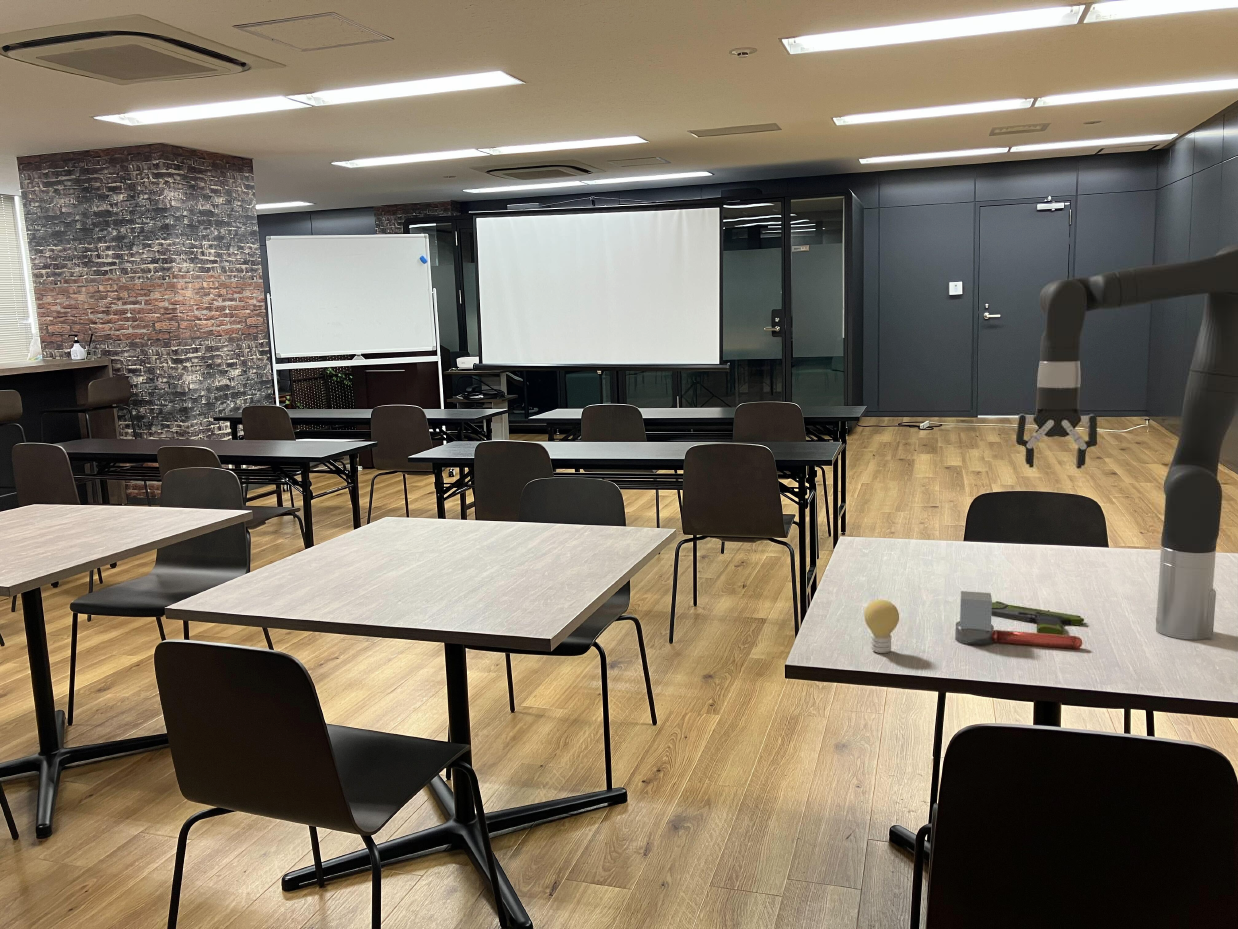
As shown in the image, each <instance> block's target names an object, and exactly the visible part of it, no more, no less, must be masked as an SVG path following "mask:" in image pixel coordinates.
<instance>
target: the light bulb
mask: <svg viewBox="0 0 1238 929" xmlns="http://www.w3.org/2000/svg"><path fill="white" fill-rule="evenodd" d="M863 617H864V621H865V624H866V626H867V627H868V629H869V630H870V631H871V635H870V638H871V639H870V643H871V645H870V649H871V650H872V651H873V652H874V653H878V654H886V653H889V652H890V651H891V650H892V635H891V633H892V632H893V631H895V629H896V627H897V626H898V624H899V622H900V613H899V610H898V608H897V607H896V605H895V604H894V603H893V602H891V601H889V600H887V599H877V600H873V601H871V602H869V603H868V604H867V605H866V607H865V610H864V614H863Z"/></svg>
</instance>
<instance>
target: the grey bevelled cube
mask: <svg viewBox="0 0 1238 929" xmlns="http://www.w3.org/2000/svg"><path fill="white" fill-rule="evenodd" d="M992 602H993V600H992V594H991V592H981V591H968V590H967V591H966V590H964V591H963V590H960V610H959V621H960V629H969V630H982V631H991V624H992V616H991V615H992Z"/></svg>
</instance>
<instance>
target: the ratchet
mask: <svg viewBox="0 0 1238 929" xmlns="http://www.w3.org/2000/svg"><path fill="white" fill-rule="evenodd" d="M954 630H955V636H954V640H955V641H956V642H957V643H960V644H962V645H966V646H969V647H988V646H990V645H993V644H994V643H999V644H1000V643H1001V644H1012V645H1024V646H1037V647H1049V648H1060V649H1061V648H1063V649H1074V650H1077V649H1080V648H1081V647H1082V646H1083V644H1084V642H1083V639H1082V638H1081V637H1080V636H1077V635H1069V634H1068V635H1067V634H1063V635H1056V634H1043V633H1037V632H1029V631H1013V630H1005V629H1004V630H1002V629H995V627H994V625H993V624H992V623H991V631H982V630H969V629H960V620H959V621H957V622H955V629H954Z"/></svg>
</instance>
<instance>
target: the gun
mask: <svg viewBox="0 0 1238 929" xmlns="http://www.w3.org/2000/svg"><path fill="white" fill-rule="evenodd" d="M991 617H996V618H1003V619H1008V620H1015V621H1019V622H1020V621H1021V622H1027V623H1031V624H1032V623H1033V624H1036V633H1043V634H1056V635H1064V625H1066V626H1067V625H1069V626H1070V625H1073V626H1082V625H1083V624H1084V622H1085V618H1083V617H1082V616H1081V615H1076V614H1070V613H1065V612H1058V611H1051V610H1050V609H1047V610H1046V609H1041V608H1040V609H1039V608H1034V607H1025V606H1021V605H1014V604H1008V603H1005V602H1002V601H998V600H996V601H992V615H991Z"/></svg>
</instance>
